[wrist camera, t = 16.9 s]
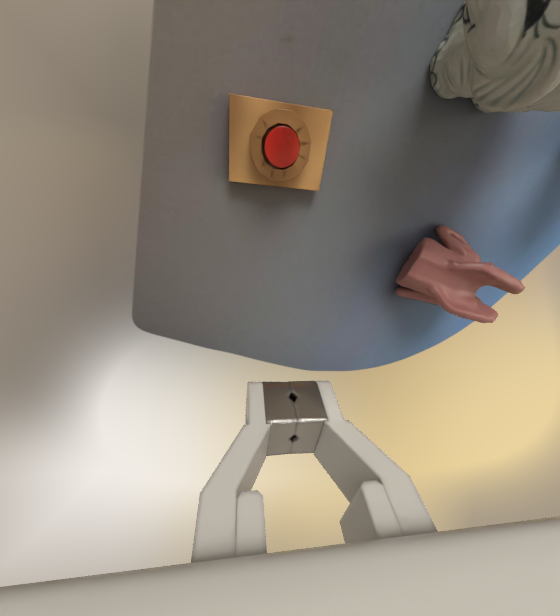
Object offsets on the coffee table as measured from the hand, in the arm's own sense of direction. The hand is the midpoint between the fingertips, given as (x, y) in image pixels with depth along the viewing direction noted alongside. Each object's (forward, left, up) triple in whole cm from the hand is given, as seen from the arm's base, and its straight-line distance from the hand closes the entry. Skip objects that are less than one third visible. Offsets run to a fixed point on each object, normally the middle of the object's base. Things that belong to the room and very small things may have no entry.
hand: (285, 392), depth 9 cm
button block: (0, +8, -29) cm, 30 cm away
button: (0, +8, -26) cm, 27 cm away
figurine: (+30, +2, -29) cm, 42 cm away
